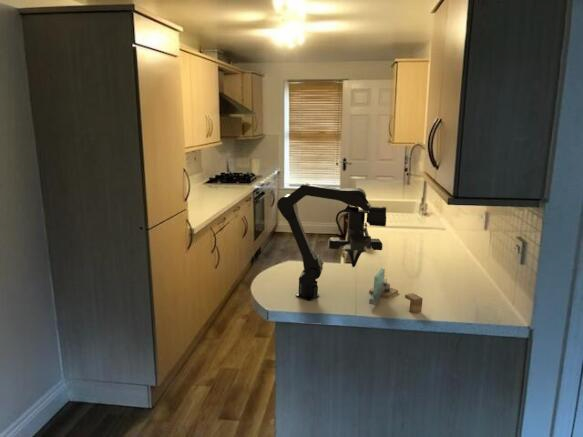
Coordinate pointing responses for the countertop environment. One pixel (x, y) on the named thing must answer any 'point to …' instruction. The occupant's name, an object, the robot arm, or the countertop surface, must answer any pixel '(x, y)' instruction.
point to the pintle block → (387, 293)
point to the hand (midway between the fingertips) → (353, 266)
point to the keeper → (414, 303)
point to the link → (379, 287)
